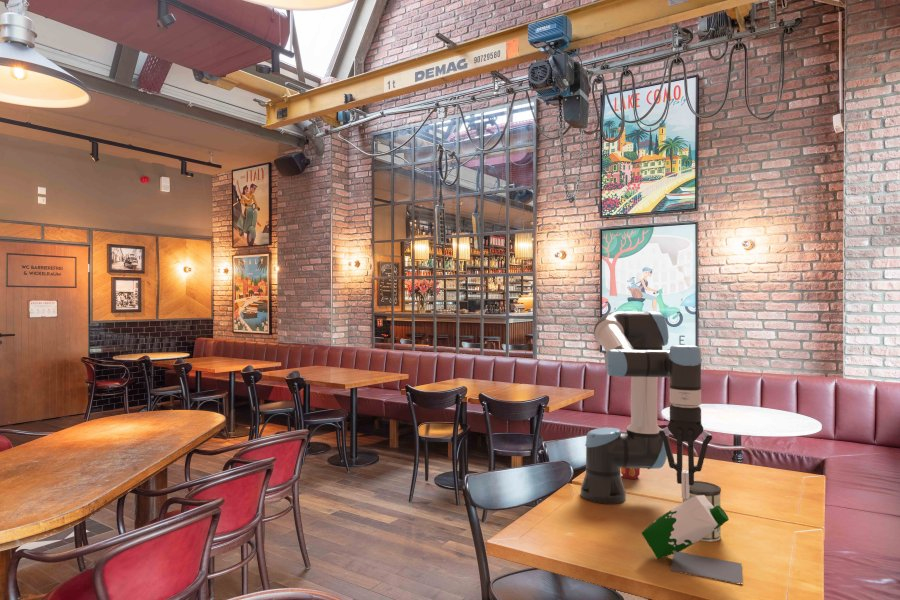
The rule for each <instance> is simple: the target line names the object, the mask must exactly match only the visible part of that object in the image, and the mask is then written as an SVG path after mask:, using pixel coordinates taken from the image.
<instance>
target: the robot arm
mask: <svg viewBox="0 0 900 600" xmlns="http://www.w3.org/2000/svg"><path fill="white" fill-rule="evenodd" d="M593 335H594V339H595V340H596V342H597V343H598V344H599V346H601V347H603V349H604V351H605V356H604V369H605V372H606V374H607V375H608V376H611V377H617V378H618V377H619V378H622V377H623V378H624V377H625V378H627V377H628V378H629V377H630V378H631V382H630V383H631V390H630V393H631V394H630V395H631V397H630V398H631V399H630V404H631V405H630V410H631V411H630V424H628V425H627V426H626V431H625V432H624V433H623V432H621V430H620V429H619V428H618V427H617V428H616V427H598V428H594V429H592V430H588V432H587V434H586V437H585V439H586V440H585V444H584V445H585V473H584V474H585V475H584V478H583V481H582V483H581V486H580V496H581V497H582V499H585V500H587V501H590V502H593V503H596V504H597V503H598V504H605V505H607V504H609V505H611V504H613V505H614V504H620V503H623V502H625V501H626V498H627V497H626V496H627V493H626V492H627V491H626V489H625V485H624V483H623V479H622V477H621V467H623V468H640V469H647V470H653V469H661V468H663V467H664V465H665V464H666V461H667V462H668V466H669V468H670V469H674V470H675V471H676V483H677V484H680V485H681V498H682V499H683V498H685V486H686V499H689V485H693V484H694V481H695V473H696V472H701V471H702V469H703V465H704V462H705V456H706V452H707V450H708V449H707V448H708V446H709V443H710V442H711V441H712V440H713V434H712V433H711V432H708V431H706V430H705V429H704V427H703V423H702V407H701V405H702V360H703V358H702V352H701V351H702V350H701V348H700V347H699V346H697V345H691V344H690V345H689V344H673V345H671V346H670V348H668V349H663V347H664V346H667V345H668V344H669V337H670V335H669V329H668V324H667V320H666V318H665V316H664V315H663V314H662V313H661V312H659V311H658V312H657V311H649V310H647V311H646V310H645V311H642V310H641V311H639V310H638V311H632V310H631V311H626V310H625V311H622V310H621V311H619V310H618V311H612V312H609V313H606V314H605V315H603V316H602V317H600V318H599V319H598V320H597V321H596V322H595V325H594V327H593ZM658 378H669V403H671V404H670V406H669V422H668V424H667V426H666V427H664V428H661V427H660V426H659V425H658V385H659V384H658V380H659V379H658ZM670 433H671V435H672V436H673V438H674V439H675V440H676V462H675V459H674V455H673V454H674V453H673V450H672V445H671V441H670V438H669V436H670ZM701 435H702V436H701ZM700 436H701V439H702V440H703V441H702V443H701V447H700V452H699V455H698V459H697V463H696V465H695V451H694V450H695V449H694V448H695V447H694V444H695V443H694V442H695V441H696V440H697V439H698V438H699V437H700ZM684 442H686V443H687V455H688V456H687V458H688V459H687V460H688V461H687V463H688V464H687V465H688V469H683V459H684V458H683V457H684V456H683V450H684V449H683V448H684V447H683V445H684V444H683V443H684Z"/></svg>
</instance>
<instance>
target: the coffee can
mask: <svg viewBox="0 0 900 600" xmlns="http://www.w3.org/2000/svg"><path fill="white" fill-rule="evenodd" d="M721 492H722V489H721V487H720V486H719V485H717V484H715V483H711V482H707V481H702V480H700V481H699V480H694V484H693V485H689V499H691V498H693V497H695V496H700V495H705V497H706V498H707V499H708V501H709V502H710V504H712V505H713V507H715V506H717V505H718V506H720V507H721ZM689 499H686V486H685V498H682V503H683V502H684V501H686V500H689ZM721 527H722V526H720V527H718V528H717V529H715V530H714V531H713V532H711V533H710V534H708V535H707V536H705V537H704V538H702V539H700V540H699V541H700V542H705V543H707V542H709V543H712V542H713V543H714V542H719V541H720V540H721V539H722V536H721V531H722V530H721Z"/></svg>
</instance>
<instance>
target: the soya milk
mask: <svg viewBox="0 0 900 600" xmlns="http://www.w3.org/2000/svg"><path fill="white" fill-rule="evenodd" d="M727 522H729V517H728V515H727V513H726V512H725V510H724V509H723V508H722V506H721V505H720V506H718V505H717V506H715V507H713V505H712V504H710V502H709V501H708V499H707V498H706V497H705V495H700V496H695V497H693V498H691V499H689V500H686V501H684V502H683V501H682V502H681V503H680V504H677V505H675V507H673V508H672V509H670V510H668V511H666V513H664V514H663V515H661V516H660V517H658V518H656V519H655V520H654V521H653V522H652V523H650V524H649V525H648V526H647V527H646V528H645V529H644V530H643V531H642V532H641V535H642V536H643V538H644V540H645V541H646V543H647V544H648V546H649V547H650V550H652V552H653V554H654V555H655V557H656V559H657V560H659V559H660V560H661V559H662V558H664V557H668V556H672V555H674V553H677V552H682V551H683V550H686V549H687V548H689V547H690V546H693V545H694V544H695V543H697V542H698V541H699V540H700V539H702V538H704V537H705V536H707V535H708V534H710V533H711V532H713V531H714V530H715V529H717V528H718V527H720V526H721V527H722V526H723V525H724V524H725V523H727Z"/></svg>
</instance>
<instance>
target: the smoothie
mask: <svg viewBox="0 0 900 600" xmlns="http://www.w3.org/2000/svg"><path fill="white" fill-rule="evenodd" d="M640 472H641V468H623V467H621V468H620V474H622V477H623V478H625V479H628V480H637V479H639V476H640Z"/></svg>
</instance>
